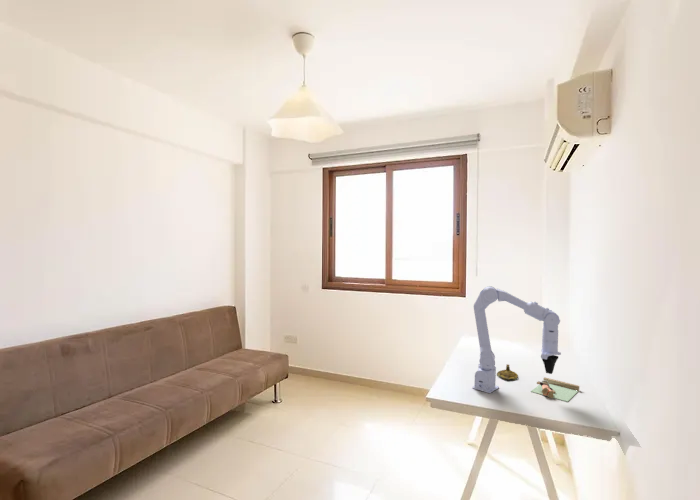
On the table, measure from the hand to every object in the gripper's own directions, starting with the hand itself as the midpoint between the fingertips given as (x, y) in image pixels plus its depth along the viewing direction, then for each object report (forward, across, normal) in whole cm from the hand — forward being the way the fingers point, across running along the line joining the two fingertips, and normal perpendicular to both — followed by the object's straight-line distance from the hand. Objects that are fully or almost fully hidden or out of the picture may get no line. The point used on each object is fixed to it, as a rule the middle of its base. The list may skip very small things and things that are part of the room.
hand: (549, 373), depth 152 cm
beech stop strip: (+10, +17, 0) cm, 20 cm away
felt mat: (+10, +8, 0) cm, 13 cm away
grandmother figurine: (+8, -1, 0) cm, 8 cm away
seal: (+10, +13, +22) cm, 27 cm away
